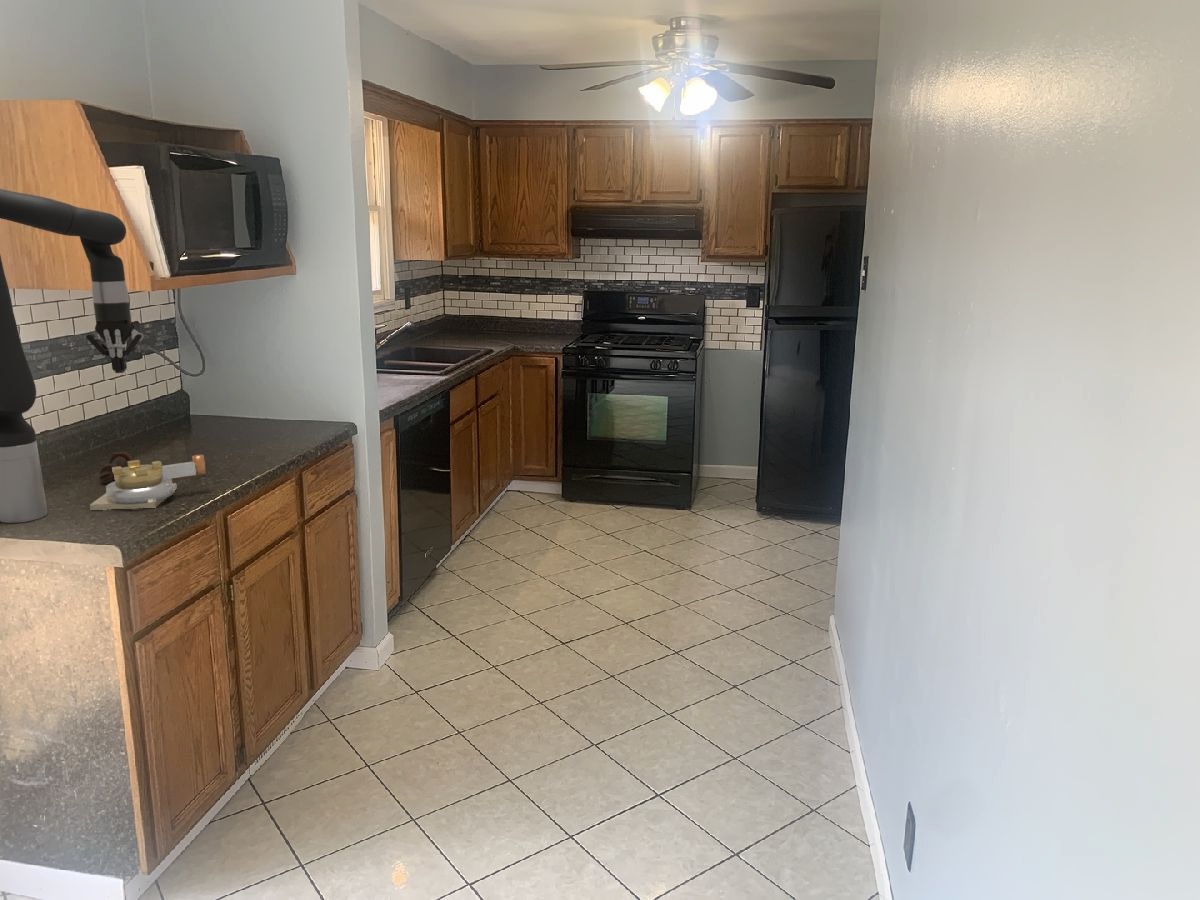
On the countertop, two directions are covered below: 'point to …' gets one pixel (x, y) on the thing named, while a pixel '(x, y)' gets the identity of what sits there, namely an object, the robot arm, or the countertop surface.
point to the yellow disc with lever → (155, 472)
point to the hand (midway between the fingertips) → (120, 372)
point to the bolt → (115, 461)
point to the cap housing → (134, 496)
